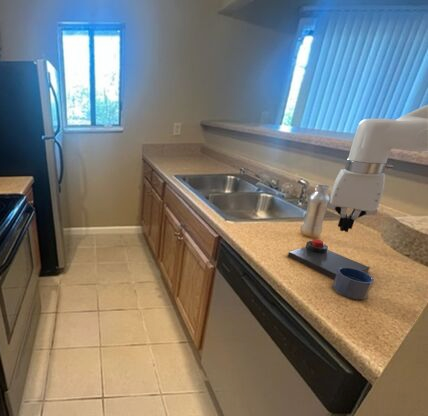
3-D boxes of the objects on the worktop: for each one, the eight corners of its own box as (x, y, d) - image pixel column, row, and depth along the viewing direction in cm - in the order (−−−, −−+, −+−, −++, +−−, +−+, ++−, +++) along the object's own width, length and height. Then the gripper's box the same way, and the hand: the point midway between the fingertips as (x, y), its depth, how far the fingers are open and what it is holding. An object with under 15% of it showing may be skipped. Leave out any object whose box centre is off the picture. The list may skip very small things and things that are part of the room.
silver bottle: (320, 241, 102) (335, 189, 95) (298, 236, 106) (311, 186, 99) (320, 234, 107) (335, 185, 99) (299, 230, 111) (312, 182, 103)
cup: (372, 296, 73) (379, 278, 71) (356, 303, 70) (363, 285, 68) (341, 281, 79) (347, 264, 77) (326, 287, 77) (331, 270, 75)
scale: (367, 272, 83) (371, 262, 82) (341, 283, 78) (345, 273, 77) (311, 248, 97) (313, 239, 96) (286, 256, 92) (288, 247, 91)
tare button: (324, 246, 92) (325, 242, 91) (318, 248, 91) (320, 243, 90) (315, 243, 94) (316, 238, 94) (309, 244, 93) (311, 240, 93)
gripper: (400, 168, 71) (376, 231, 78) (328, 162, 80) (312, 219, 86) (407, 174, 66) (381, 241, 72) (328, 166, 74) (311, 228, 81)
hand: (343, 229), depth 79 cm, fingers closed
